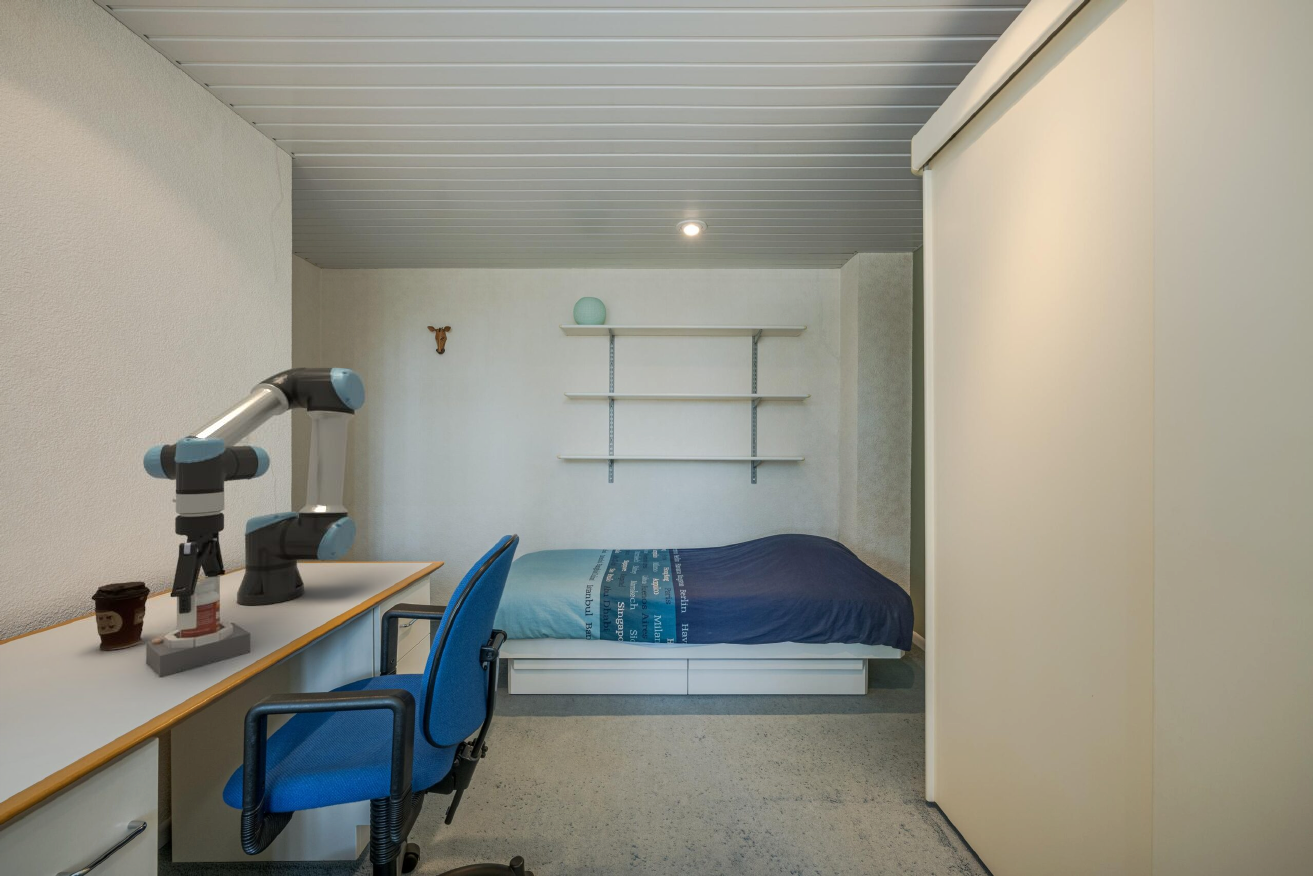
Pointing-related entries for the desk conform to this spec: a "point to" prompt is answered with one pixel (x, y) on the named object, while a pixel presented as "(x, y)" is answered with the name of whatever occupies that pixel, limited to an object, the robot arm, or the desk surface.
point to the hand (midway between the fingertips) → (199, 617)
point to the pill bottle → (205, 611)
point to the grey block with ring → (195, 649)
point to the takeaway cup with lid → (120, 614)
